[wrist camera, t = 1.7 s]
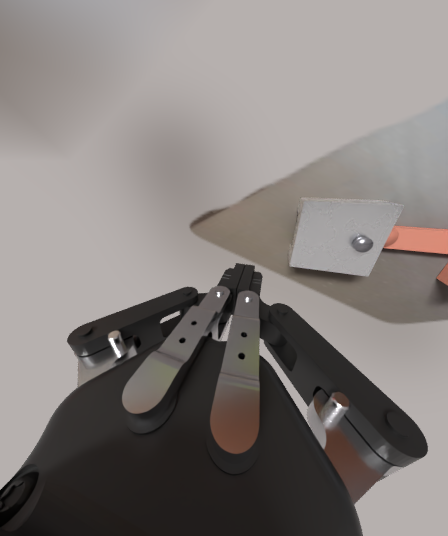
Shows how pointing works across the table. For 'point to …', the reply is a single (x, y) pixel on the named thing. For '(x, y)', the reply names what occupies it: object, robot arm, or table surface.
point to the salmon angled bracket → (420, 242)
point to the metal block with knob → (341, 234)
